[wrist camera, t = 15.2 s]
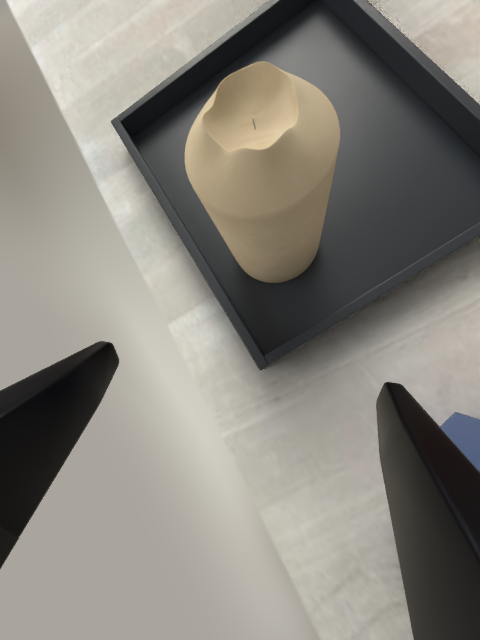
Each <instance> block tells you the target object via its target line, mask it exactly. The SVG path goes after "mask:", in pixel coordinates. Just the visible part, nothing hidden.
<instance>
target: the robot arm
mask: <svg viewBox="0 0 480 640" xmlns="http://www.w3.org/2000/svg"><path fill="white" fill-rule="evenodd" d="M118 364H119V358H118V355H117V353H116V350H115V348H114V346H113V344H112V343H110V342H104V341H100V342H97V343H95V344H93V345H91V346H90V347H87V348H85V349H83V350H81V351H79V352H77V353H75V354H73V355H71V356H69V357H67V358H65V359H63V360H61V361H59V362H57V363H55V364H53V365H51V366H49V367H47V368H45V369H43V370H41V371H39V372H37V373H35V374H33V375H31V376H29V377H27V378H25V379H23V380H21V381H19V382H17V383H15V384H13V385H11V386H9V387H7V388H5V389H3V390H1V391H0V569H1V567H2V565H3V563H4V562H5V560H6V559H7V557H8V555H9V554H10V552H11V550H12V549H13V547H14V545H15V544H16V542H17V540H18V539H19V536H20V535H21V534H22V532H23V530H24V528H25V527H26V525H27V523H28V522H29V520H30V518H31V517H32V515H33V514H34V512H35V510H36V509H37V507H38V505H39V504H40V502H41V500H42V499H43V497H44V495H45V494H46V492H47V490H48V489H49V487H50V486H51V484H52V482H53V481H54V479H55V477H56V476H57V474H58V472H59V471H60V469H61V467H62V466H63V464H64V462H65V461H66V459H67V457H68V456H69V454H70V452H71V450H72V449H73V447H74V446H75V444H76V442H77V441H78V439H79V437H80V436H81V434H82V432H83V431H84V429H85V428H86V426H87V424H88V423H89V421H90V419H91V418H92V416H93V414H94V413H95V411H96V409H97V408H98V406H99V404H100V402H101V400H102V398H103V396H104V394H105V392H106V390H107V388H108V386H109V384H110V382H111V380H112V378H113V375H114V373H115V371H116V369H117V367H118ZM376 409H377V424H378V439H379V452H380V461H381V467H382V472H383V478H384V483H385V488H386V494H387V499H388V504H389V510H390V515H391V520H392V526H393V531H394V536H395V542H396V547H397V552H398V558H399V563H400V568H401V574H402V579H403V584H404V590H405V595H406V600H407V606H408V611H409V616H410V622H411V627H412V632H413V638H414V640H480V472H479V470H478V469H477V468H476V467H475V466H474V465H473V464H472V463H471V461H470V460H469V459H468V458H467V457H466V456H465V455H464V454H463V453H462V451H461V450H460V449H459V448H458V447H457V446H456V445H455V444H454V442H453V441H452V440H451V439H450V438H449V437H448V436H447V435H446V433H445V432H444V431H443V430H442V429H441V428H440V427H439V426H438V425H437V423H436V422H435V421H434V420H433V419H432V418H431V417H430V416H429V414H428V413H427V412H426V411H425V410H424V409H423V408H422V407H421V405H420V404H419V403H418V402H417V401H416V400H415V399H414V398H413V397H412V395H411V394H410V393H409V392H408V391H407V390H406V389H405V388H404V386H402V385H401V384H398V383H391V382H386V383H384V385H383V387H382V389H381V392H380V394H379V396H378V399H377V404H376Z"/></svg>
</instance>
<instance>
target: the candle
mask: <svg viewBox="0 0 480 640" xmlns="http://www.w3.org/2000/svg"><path fill="white" fill-rule="evenodd" d="M339 143H340V126H339V120H338V117H337V113H336V111H335V109H334V107H333V105H332V103H331V102H330V101H329V99H328V98H327V97H326V96H325V95H324V93H323V92H322V91H320V90H319V89H318V88H317V87H315V86H314V85H312V84H311V83H309V82H307V81H305V80H303V79H302V78H299V77H297V76H295V75H292V74H290V73H288V72H285V71H283V70H281V69H279V68H278V67H276V66H274V65H273V64H271V63H268V62H264V61H261V62H256V63H253V64H251V65H249V66H247V67H245V68H243V69H240V70H238V71H236V72H234V73H232V74H230V75H229V76H227V77H226V78H225V79H224V80H223V81H221V82H220V84H219V86H218V87H217V89H216V91H215V92H214V94H213V95H212V96H211V98H210V99H209V100H208V101H207V103H206V104H205V105H204V107H203V109H202V110H201V111H200V113H199V114H198V116H197V118H196V120H195V121H194V123H193V125H192V127H191V129H190V132H189V135H188V138H187V142H186V146H185V167H186V172H187V175H188V179H189V181H190V183H191V185H192V187H193V189H194V190H195V192H196V194H197V195H198V197H199V199H200V200H201V202H202V204H203V205H204V207H205V209H206V211H207V212H208V214H209V216H210V217H211V219H212V221H213V222H214V224H215V226H216V227H217V229H218V231H219V232H220V234H221V236H222V237H223V239H224V241H225V242H226V244H227V246H228V247H229V249H230V251H231V252H232V254H233V256H234V257H235V259H236V261H237V262H238V264H239V265H240V266H241V268H242V269H243V270H244V271H245V272H246V273H247V274H248V275H250V276H251V277H253V278H255V279H257V280H259V281H263V282H267V283H281V282H285V281H288V280H291V279H293V278H295V277H297V276H299V275H300V274H302V273H303V272H304V271H305V270H306V269H307V268H308V267H309V265H310V264H311V263H312V261H313V260H314V258H315V256H316V253H317V250H318V247H319V243H320V238H321V233H322V228H323V223H324V218H325V213H326V208H327V204H328V199H329V194H330V189H331V184H332V179H333V174H334V169H335V164H336V159H337V154H338V148H339Z"/></svg>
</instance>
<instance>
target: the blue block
mask: <svg viewBox="0 0 480 640" xmlns="http://www.w3.org/2000/svg"><path fill="white" fill-rule="evenodd" d="M440 428H441V429H442V430H443V431H444V432H445V433H446V435H447V436H448V437H449V438H450V439H451V440H452V441H453V442H454V444H455V445H456V446H457V447H458V448H459V449H460V450H461V451H462V453H463V454H464V455H465V456H466V457H467V458H468V459H469V460H470V461H471V463H472V464H473V465H474V466H475V467H476V468H477V469H478V470H479V472H480V420H479V419H476V418H472V417H469V416H466V415H463V414H460V413H457V412H455V413H454V414H453V415H452V416H451V417H450V418H449V419H448V420H447V421H446V422H445V423H444V424H443V425H442V426H441V427H440Z"/></svg>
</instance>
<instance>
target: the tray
mask: <svg viewBox="0 0 480 640" xmlns="http://www.w3.org/2000/svg"><path fill="white" fill-rule="evenodd" d="M261 61H264V62H268V63H271V64H273V65H274V66H276V67H278V68H279V69H281V70H283V71H285V72H288V73H290V74H292V75H295V76H297V77H299V78H302V79H303V80H305V81H307V82H309V83H311V84H312V85H314V86H315V87H317V88H318V89H319V90H320V91H322V92H323V93H324V95H325V96H326V97H327V98H328V99H329V101H330V102H331V103H332V105H333V107H334V109H335V111H336V113H337V117H338V120H339V126H340V143H339V148H338V154H337V159H336V164H335V169H334V174H333V179H332V184H331V189H330V194H329V199H328V204H327V208H326V213H325V218H324V223H323V228H322V233H321V238H320V243H319V247H318V250H317V253H316V256H315V258H314V260H313V261H312V263H311V264H310V265H309V267H308V268H307V269H306V270H305V271H304V272H303V273H302V274H300V275H299V276H297V277H295V278H293V279H291V280H288V281H285V282H281V283H267V282H263V281H259V280H257V279H255V278H253V277H251V276H250V275H248V274H247V273H246V272H245V271H244V270H243V269H242V268H241V266H240V265H239V264H238V262H237V261H236V259H235V257H234V256H233V254H232V252H231V251H230V249H229V247H228V246H227V244H226V242H225V241H224V239H223V237H222V236H221V234H220V232H219V231H218V229H217V227H216V226H215V224H214V222H213V221H212V219H211V217H210V216H209V214H208V212H207V211H206V209H205V207H204V205H203V204H202V202H201V200H200V199H199V197H198V195H197V194H196V192H195V190H194V189H193V187H192V185H191V183H190V181H189V179H188V175H187V172H186V167H185V146H186V142H187V138H188V135H189V132H190V129H191V127H192V125H193V123H194V121H195V120H196V118H197V116H198V114H199V113H200V111H201V110H202V109H203V107H204V105H205V104H206V103H207V101H208V100H209V99H210V98H211V96H212V95H213V94H214V92H215V91H216V89H217V87H218V86H219V84H220V82H221V81H223V80H224V79H225V78H226V77H227V76H229V75H230V74H232V73H234V72H236V71H238V70H240V69H243V68H245V67H247V66H249V65H251V64H253V63H256V62H261ZM111 123H112V125H113V126H114V128H115V130H116V131H117V133H118V135H119V136H120V138H121V140H122V141H123V143H124V145H125V146H126V148H127V150H128V151H129V153H130V155H131V156H132V158H133V160H134V161H135V163H136V165H137V166H138V168H139V170H140V171H141V173H142V175H143V176H144V178H145V180H146V181H147V183H148V185H149V186H150V188H151V190H152V191H153V193H154V195H155V196H156V198H157V200H158V201H159V203H160V205H161V206H162V208H163V210H164V211H165V213H166V215H167V216H168V218H169V220H170V221H171V223H172V225H173V226H174V228H175V230H176V231H177V233H178V235H179V236H180V238H181V240H182V241H183V243H184V245H185V246H186V248H187V250H188V251H189V253H190V255H191V256H192V258H193V260H194V261H195V263H196V265H197V266H198V268H199V270H200V271H201V273H202V275H203V276H204V278H205V280H206V281H207V283H208V285H209V286H210V288H211V290H212V291H213V293H214V295H215V296H216V298H217V300H218V301H219V303H220V305H221V306H222V308H223V310H224V311H225V313H226V315H227V316H228V318H229V320H230V321H231V323H232V325H233V326H234V328H235V330H236V331H237V333H238V335H239V336H240V338H241V340H242V341H243V343H244V345H245V346H246V348H247V350H248V351H249V353H250V355H251V356H252V358H253V360H254V361H255V363H256V365H257V366H258V368H259V370H263V369H266V368H268V367H269V366H271V365H272V364H274V363H276V362H277V361H279V360H281V359H282V358H284V357H285V356H287V355H289V354H290V353H292V352H294V351H295V350H297V349H298V348H300V347H302V346H303V345H305V344H307V343H308V342H310V341H311V340H313V339H315V338H316V337H318V336H320V335H321V334H323V333H324V332H326V331H328V330H329V329H331V328H333V327H334V326H336V325H337V324H339V323H341V322H342V321H344V320H346V319H347V318H349V317H351V316H352V315H354V314H355V313H357V312H359V311H360V310H362V309H364V308H365V307H367V306H368V305H370V304H372V303H373V302H375V301H377V300H378V299H380V298H381V297H383V296H385V295H386V294H388V293H390V292H391V291H393V290H394V289H396V288H398V287H399V286H401V285H403V284H404V283H406V282H407V281H409V280H411V279H412V278H414V277H416V276H417V275H419V274H420V273H422V272H424V271H425V270H427V269H429V268H430V267H432V266H434V265H435V264H437V263H438V262H440V261H442V260H443V259H445V258H447V257H448V256H450V255H451V254H453V253H455V252H456V251H458V250H460V249H461V248H463V247H464V246H466V245H468V244H469V243H471V242H473V241H474V240H476V239H477V238H479V237H480V105H479V104H478V103H477V102H476V101H475V100H474V99H473V98H472V97H471V96H470V95H469V94H467V93H466V92H465V91H464V90H463V89H462V88H461V87H460V86H459V85H458V84H457V83H456V82H454V81H453V80H452V79H451V78H450V77H449V76H448V75H447V74H446V73H445V72H444V71H443V70H441V69H440V68H439V67H438V66H437V65H436V64H435V63H434V62H433V61H432V60H431V59H430V58H428V57H427V56H426V55H425V54H424V53H423V52H422V51H421V50H420V49H419V48H418V47H417V46H415V45H414V44H413V43H412V42H411V41H410V40H409V39H408V38H407V37H406V36H405V35H404V34H402V33H401V32H400V31H399V30H398V29H397V28H396V27H395V26H394V25H393V24H392V23H391V22H389V21H388V20H387V19H386V18H385V17H384V16H383V15H382V14H381V13H380V12H379V11H378V10H376V9H375V8H374V7H373V6H372V5H371V4H370V3H369V2H368V1H367V0H270V1H268V2H267V3H266V4H264V5H263V6H262V7H260V8H259V9H258V10H256V11H255V12H254V13H252V14H251V15H250V16H248V17H247V18H246V19H245V20H243V21H242V22H241V23H239V24H238V25H237V26H235V27H234V28H233V29H231V30H230V31H229V32H227V33H226V34H225V35H224V36H222V37H221V38H220V39H218V40H217V41H216V42H214V43H213V44H212V45H210V46H209V47H208V48H206V49H205V50H204V51H202V52H201V53H200V54H199V55H197V56H196V57H195V58H193V59H192V60H191V61H189V62H188V63H187V64H185V65H184V66H183V67H181V68H180V69H179V70H178V71H176V72H175V73H174V74H172V75H171V76H170V77H168V78H167V79H166V80H164V81H163V82H162V83H160V84H159V85H158V86H157V87H155V88H154V89H153V90H151V91H150V92H149V93H147V94H146V95H145V96H143V97H142V98H141V99H139V100H138V101H137V102H135V103H134V104H133V105H132V106H130V107H129V108H128V109H126V110H125V111H124V112H122V113H121V114H120V115H118V116H117V117H116V118H114V119H113V120H112V121H111Z"/></svg>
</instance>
